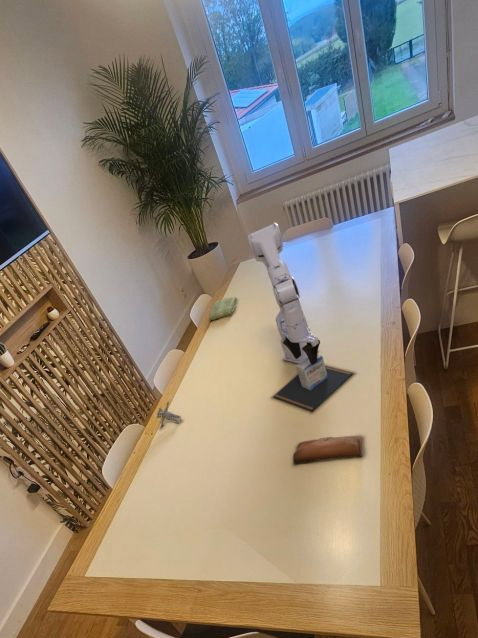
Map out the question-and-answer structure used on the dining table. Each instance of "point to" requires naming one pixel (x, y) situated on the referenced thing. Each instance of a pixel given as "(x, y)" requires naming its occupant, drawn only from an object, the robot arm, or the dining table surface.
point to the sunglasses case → (328, 448)
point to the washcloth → (223, 308)
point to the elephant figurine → (167, 415)
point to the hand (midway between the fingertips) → (306, 360)
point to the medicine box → (312, 373)
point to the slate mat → (313, 397)
